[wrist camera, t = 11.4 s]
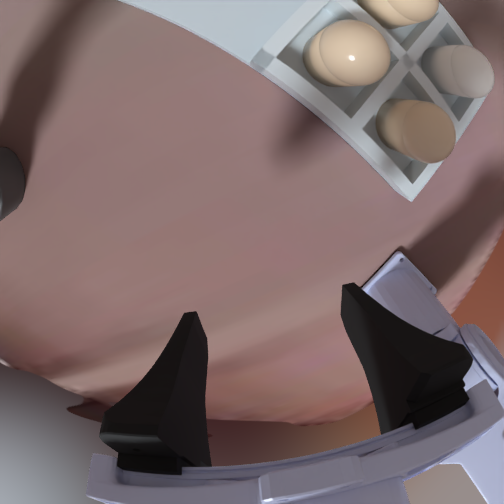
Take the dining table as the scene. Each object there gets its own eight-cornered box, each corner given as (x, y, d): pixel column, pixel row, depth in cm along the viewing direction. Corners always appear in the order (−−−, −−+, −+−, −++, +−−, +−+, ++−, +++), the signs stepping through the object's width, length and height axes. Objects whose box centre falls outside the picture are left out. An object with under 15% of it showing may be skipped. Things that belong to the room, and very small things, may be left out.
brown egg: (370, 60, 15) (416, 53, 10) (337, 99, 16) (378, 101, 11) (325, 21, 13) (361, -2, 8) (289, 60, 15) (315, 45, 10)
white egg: (462, 74, 15) (509, 80, 10) (442, 103, 16) (491, 114, 11) (434, 37, 13) (482, 33, 8) (413, 65, 15) (463, 65, 10)
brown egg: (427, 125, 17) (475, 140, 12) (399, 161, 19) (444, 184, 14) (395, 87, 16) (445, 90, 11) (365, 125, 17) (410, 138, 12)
